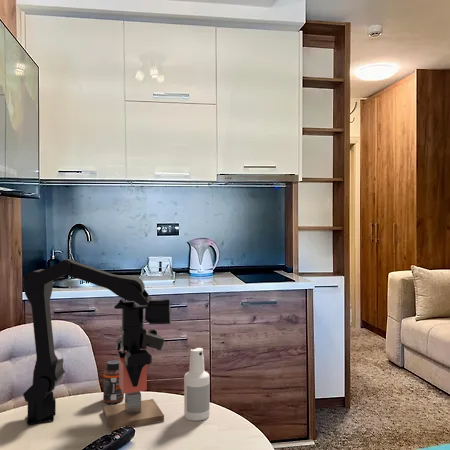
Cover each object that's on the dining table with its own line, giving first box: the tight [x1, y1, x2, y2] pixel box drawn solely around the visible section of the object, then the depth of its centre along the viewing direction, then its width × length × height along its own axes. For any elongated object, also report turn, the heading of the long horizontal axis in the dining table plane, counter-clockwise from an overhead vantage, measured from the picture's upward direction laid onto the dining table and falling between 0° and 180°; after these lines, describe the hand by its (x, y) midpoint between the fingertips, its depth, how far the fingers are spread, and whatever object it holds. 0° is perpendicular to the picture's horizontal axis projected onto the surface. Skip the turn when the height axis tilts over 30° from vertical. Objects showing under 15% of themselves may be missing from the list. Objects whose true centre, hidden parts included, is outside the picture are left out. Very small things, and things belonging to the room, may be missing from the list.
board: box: [102, 398, 165, 431], centre depth 119 cm, size 14×12×2 cm
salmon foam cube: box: [118, 357, 148, 395], centre depth 119 cm, size 6×6×8 cm
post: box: [124, 391, 142, 415], centre depth 119 cm, size 4×4×5 cm
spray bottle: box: [183, 347, 211, 422], centre depth 119 cm, size 7×7×18 cm
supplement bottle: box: [102, 359, 125, 404], centre depth 130 cm, size 6×6×11 cm
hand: (132, 382), depth 119 cm, fingers closed on salmon foam cube, 6 cm apart
